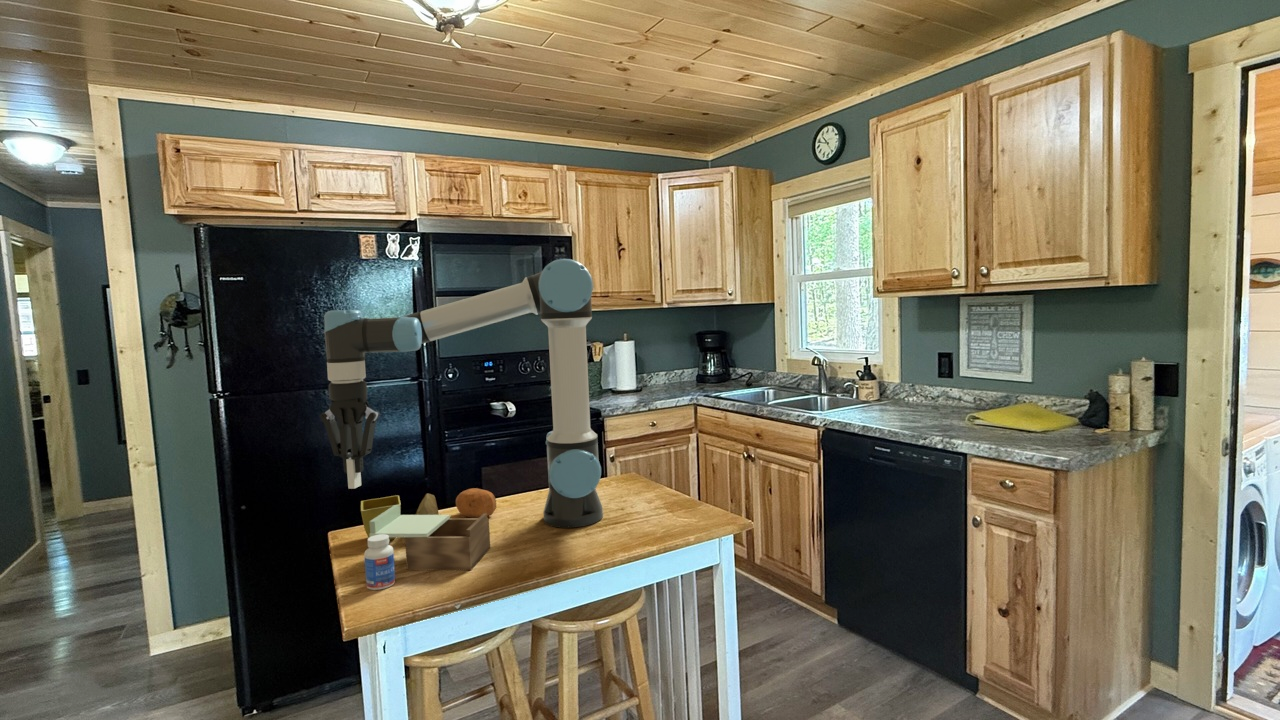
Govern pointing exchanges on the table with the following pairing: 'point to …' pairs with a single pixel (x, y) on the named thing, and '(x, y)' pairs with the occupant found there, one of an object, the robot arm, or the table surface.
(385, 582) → the pill bottle
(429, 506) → the rock
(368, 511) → the flower pot
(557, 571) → the table surface
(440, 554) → the box
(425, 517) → the lid
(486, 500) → the potato
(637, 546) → the table surface
